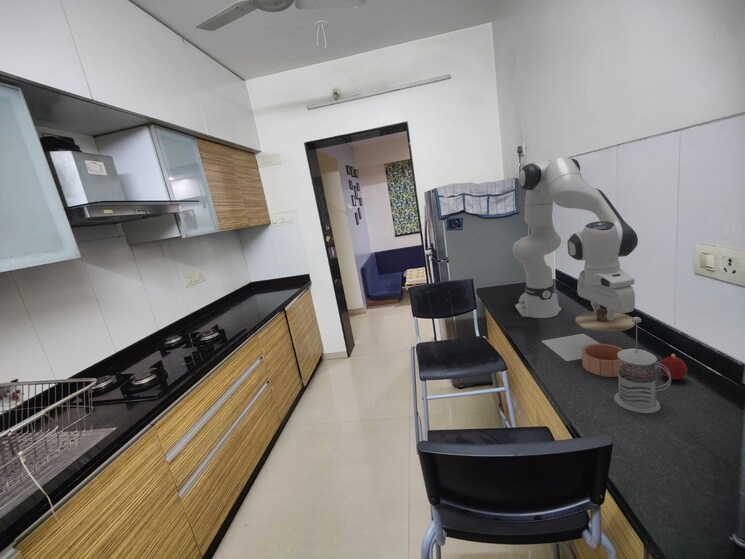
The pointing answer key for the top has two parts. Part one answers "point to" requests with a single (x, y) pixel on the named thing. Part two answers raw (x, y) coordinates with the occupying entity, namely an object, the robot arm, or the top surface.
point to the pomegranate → (674, 367)
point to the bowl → (602, 359)
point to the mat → (570, 346)
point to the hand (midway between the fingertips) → (603, 317)
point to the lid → (604, 321)
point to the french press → (636, 393)
